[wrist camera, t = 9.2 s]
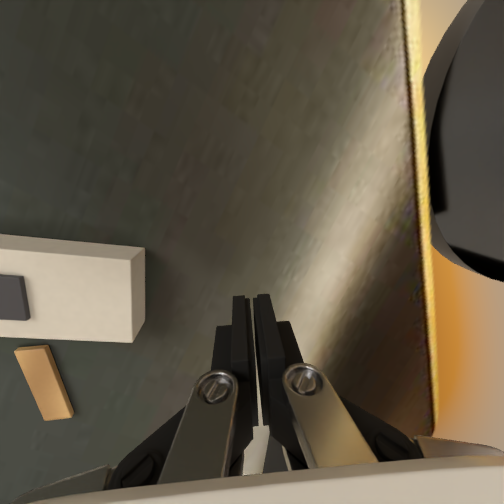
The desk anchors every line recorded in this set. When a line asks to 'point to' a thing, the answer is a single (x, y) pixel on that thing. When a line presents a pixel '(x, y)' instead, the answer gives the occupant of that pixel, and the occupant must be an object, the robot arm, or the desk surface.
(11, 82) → the desk surface
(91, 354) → the desk surface
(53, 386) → the wooden plank block
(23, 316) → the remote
